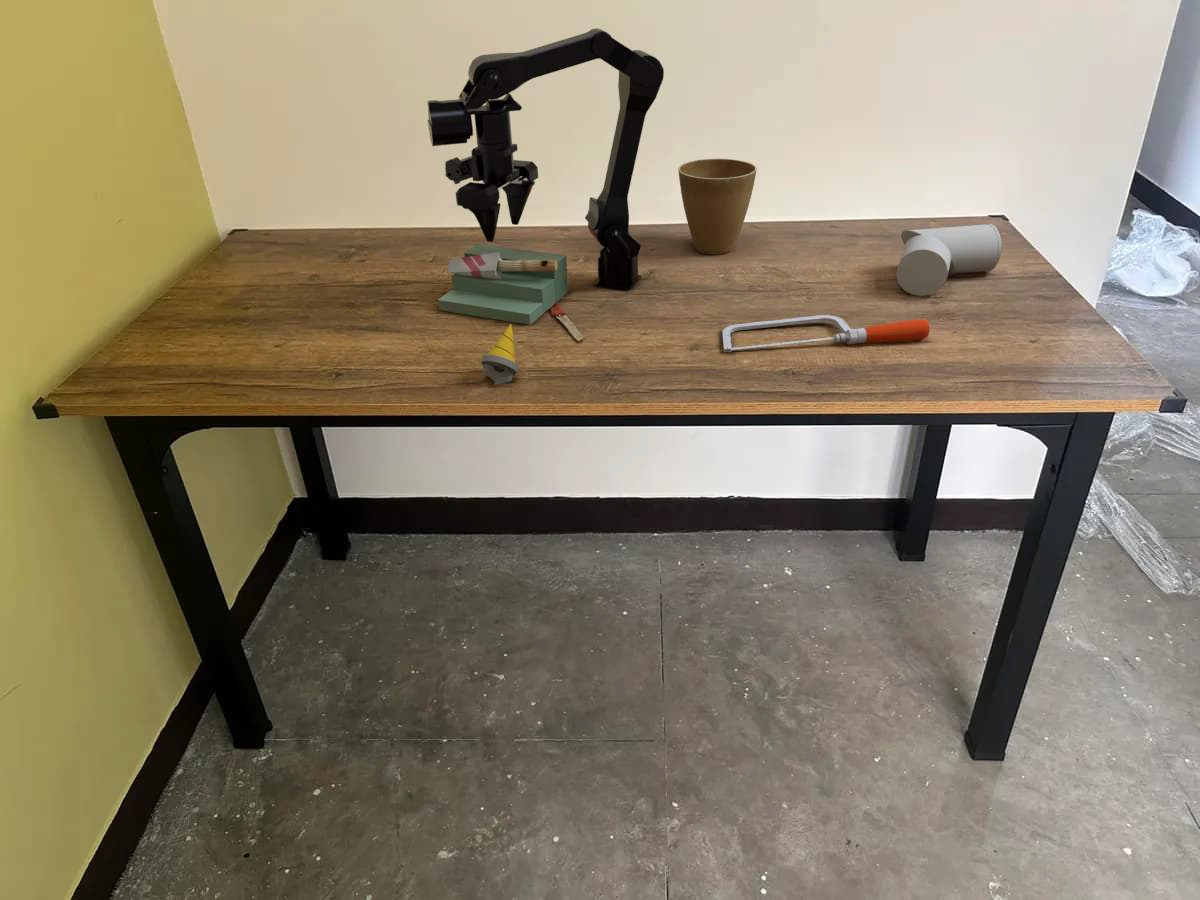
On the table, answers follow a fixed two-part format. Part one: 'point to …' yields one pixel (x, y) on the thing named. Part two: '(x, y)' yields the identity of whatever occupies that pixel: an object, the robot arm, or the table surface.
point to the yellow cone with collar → (501, 359)
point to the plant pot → (716, 201)
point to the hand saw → (852, 336)
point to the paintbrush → (496, 265)
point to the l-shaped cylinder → (945, 255)
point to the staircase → (508, 288)
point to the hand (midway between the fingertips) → (503, 232)
